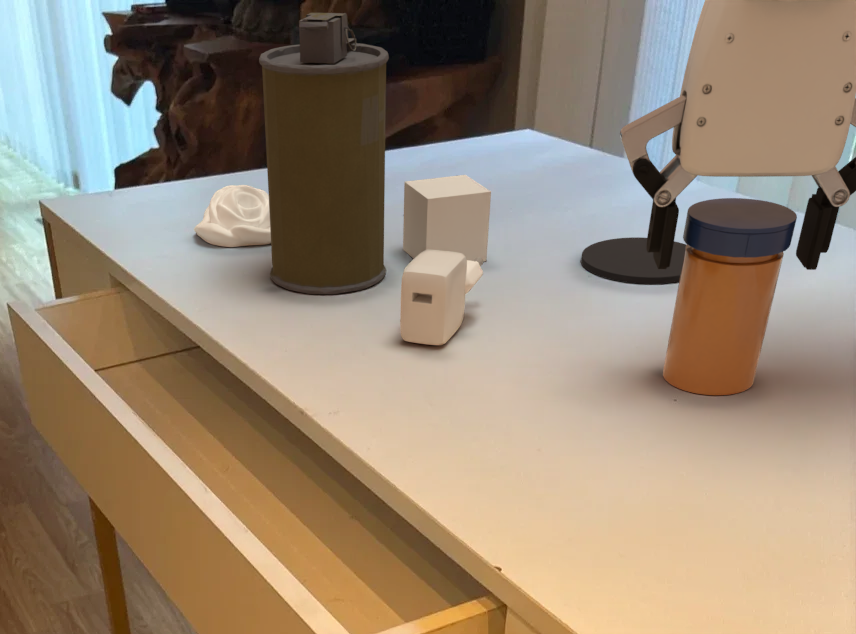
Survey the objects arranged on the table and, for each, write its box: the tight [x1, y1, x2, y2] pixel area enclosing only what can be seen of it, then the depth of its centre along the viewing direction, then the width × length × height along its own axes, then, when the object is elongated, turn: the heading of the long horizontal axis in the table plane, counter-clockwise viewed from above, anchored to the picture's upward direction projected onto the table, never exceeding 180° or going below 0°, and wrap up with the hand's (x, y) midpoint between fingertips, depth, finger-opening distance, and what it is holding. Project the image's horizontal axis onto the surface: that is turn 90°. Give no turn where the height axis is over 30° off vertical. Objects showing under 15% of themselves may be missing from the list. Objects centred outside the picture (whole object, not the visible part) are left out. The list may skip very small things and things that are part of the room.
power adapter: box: [399, 250, 484, 346], centre depth 89 cm, size 11×5×6 cm, turn 157°
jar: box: [662, 244, 785, 396], centre depth 78 cm, size 6×6×11 cm
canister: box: [258, 12, 390, 295], centre depth 95 cm, size 11×10×20 cm
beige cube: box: [402, 174, 492, 262], centre depth 102 cm, size 6×6×6 cm
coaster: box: [580, 236, 687, 285], centre depth 101 cm, size 11×11×1 cm
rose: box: [193, 184, 271, 248], centre depth 109 cm, size 10×4×10 cm
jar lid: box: [682, 197, 798, 257], centre depth 75 cm, size 7×7×2 cm
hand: (732, 263), depth 76 cm, fingers open, 9 cm apart
